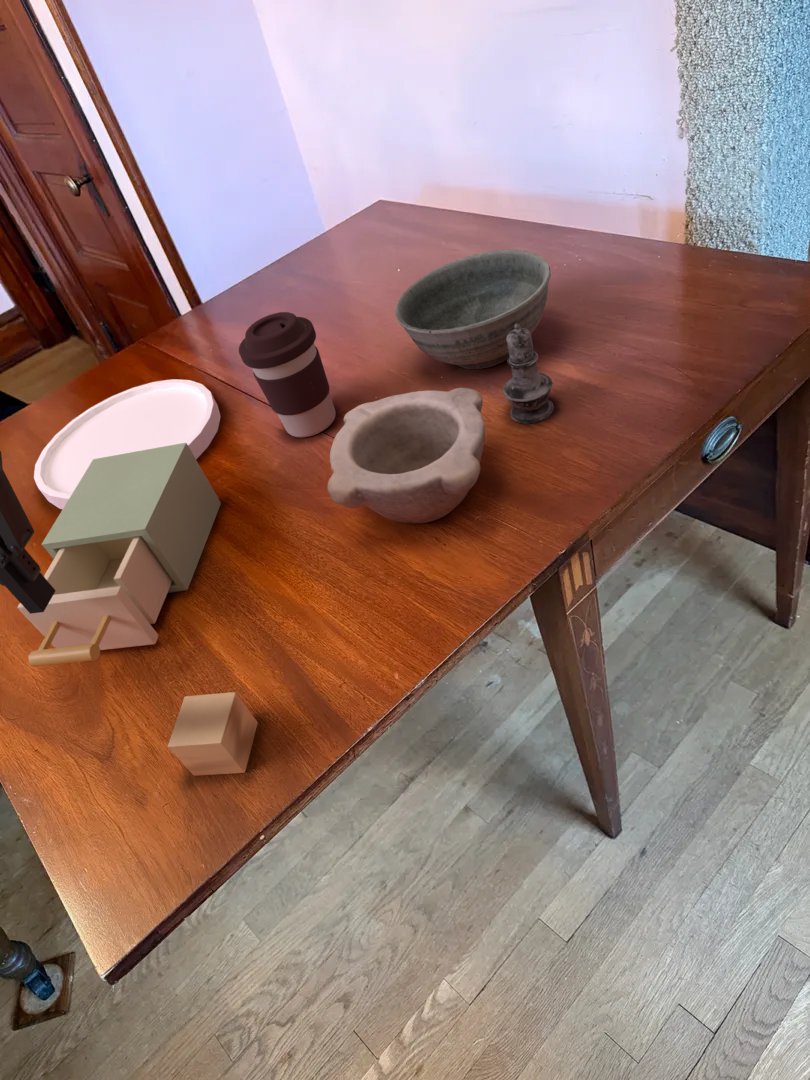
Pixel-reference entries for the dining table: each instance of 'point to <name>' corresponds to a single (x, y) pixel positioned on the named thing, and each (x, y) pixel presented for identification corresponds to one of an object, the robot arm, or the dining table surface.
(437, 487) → the mortar
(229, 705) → the block
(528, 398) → the grey stone chess piece
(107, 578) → the drawer
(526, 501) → the dining table surface
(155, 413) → the plate
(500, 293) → the bowl
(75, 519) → the cabinet
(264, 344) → the coffee cup
